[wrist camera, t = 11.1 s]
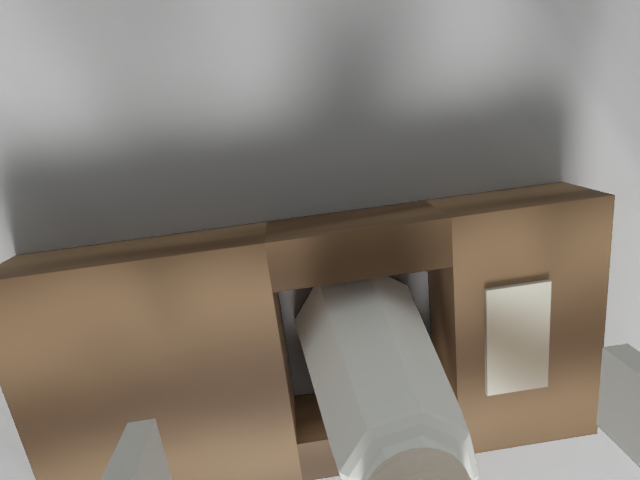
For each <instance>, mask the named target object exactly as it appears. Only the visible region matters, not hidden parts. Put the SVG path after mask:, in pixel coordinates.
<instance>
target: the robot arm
mask: <svg viewBox="0 0 640 480" xmlns="http://www.w3.org/2000/svg"><path fill="white" fill-rule="evenodd" d="M596 425H597V426H598V427H599V428H600V429H601V430H602V431H603V432H604V433H605V434H606V435H607V436H609V437H610V438H611V439H612V440H613V441H614V442H615V443H616V444H617V445H618V446H619V447H620V448H621V449H622V450H623V451H624V452H625V453H626V454H627V455H628V456H629V457H630V458H631V459H632V460H633V461H634V462H635V463H636V464H637V465H638V466H639V467H640V352H639V351H637V350H636V349H634V348H633V347H631V346H630V345H629V344H622V345H615V346H609V347H603V349H602V361H601V374H600V386H599V399H598V411H597V424H596ZM101 480H172V478H171V474H170V471H169V467H168V463H167V460H166V456H165V452H164V449H163V445H162V441H161V438H160V434H159V430H158V426H157V423H156V419H149V420H142V421H136V422H130V423H127V425H126V427H125V429H124V432H123V434H122V436H121V438H120V440H119V442H118V444H117V446H116V448H115V451H114V453H113V455H112V457H111V459H110V461H109V463H108V465H107V467H106V470H105V472H104V474H103V476H102V478H101Z"/></svg>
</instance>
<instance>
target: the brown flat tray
mask: <svg viewBox="0 0 640 480" xmlns="http://www.w3.org/2000/svg"><path fill="white" fill-rule="evenodd" d="M614 200H615V195H612V194H608V193H604V192H600V191H596V190H592V189H588V188H584V187H581V186H577V185H573V184H569V183H565V182H558V183H551V184H543V185H536V186H528V187H521V188H514V189H506V190H499V191H491V192H484V193H476V194H469V195H462V196H454V197H447V198H439V199H432V200H425V201H417V202H410V203H402V204H395V205H387V206H380V207H373V208H365V209H358V210H350V211H343V212H335V213H328V214H321V215H313V216H306V217H298V218H291V219H284V220H276V221H269V222H261V223H254V224H246V225H239V226H232V227H224V228H217V229H209V230H202V231H195V232H187V233H180V234H172V235H165V236H157V237H150V238H143V239H135V240H128V241H120V242H113V243H105V244H98V245H91V246H83V247H76V248H68V249H61V250H54V251H46V252H39V253H31V254H24V255H16V256H14V257H12V258H10V259H8V260H7V261H5V262H3V263H1V264H0V386H1V388H2V391H3V394H4V396H5V399H6V402H7V404H8V407H9V410H10V412H11V415H12V418H13V420H14V423H15V425H16V428H17V431H18V433H19V436H20V439H21V441H22V444H23V447H24V449H25V452H26V455H27V457H28V460H29V463H30V465H31V468H32V471H33V473H34V476H35V478H36V480H101V478H102V476H103V474H104V472H105V470H106V467H107V465H108V463H109V461H110V459H111V457H112V455H113V453H114V451H115V448H116V446H117V444H118V442H119V440H120V438H121V436H122V434H123V432H124V429H125V427H126V425H127V423H130V422H136V421H142V420H149V419H156V423H157V426H158V430H159V434H160V438H161V441H162V445H163V449H164V452H165V456H166V460H167V463H168V467H169V471H170V474H171V478H172V480H315V479H322V478H328V477H334V476H340V475H339V472H338V468H337V465H336V462H335V459H334V456H333V453H332V450H331V447H330V444H329V440H328V437H327V433H326V430H325V426H324V423H323V419H322V416H321V412H320V409H319V405H318V402H317V398H316V395H315V394H309V395H303V396H296V397H294V390H293V384H292V377H291V371H290V365H289V358H288V352H287V346H286V339H285V333H284V327H283V320H282V314H281V307H280V301H279V295H278V292H281V291H288V290H295V289H302V288H309V287H316V286H323V285H330V284H337V283H344V282H351V281H358V280H365V279H372V278H379V277H386V276H393V275H400V274H407V273H414V272H421V271H428V282H429V302H430V321H431V341H432V344H433V346H434V348H435V350H436V353H437V355H438V357H439V360H440V362H441V364H442V367H443V369H444V371H445V374H446V376H447V378H448V380H449V383H450V385H451V387H452V390H453V392H454V394H455V397H456V399H457V401H458V404H459V406H460V408H461V410H462V413H463V416H464V419H465V422H466V424H467V427H468V430H469V433H470V436H471V440H472V445H473V449H474V453H481V452H487V451H493V450H499V449H505V448H511V447H518V446H524V445H530V444H536V443H542V442H548V441H554V440H560V439H567V438H573V437H579V436H585V435H591V434H597V427H598V426H597V425H596V424H597V411H598V399H599V386H600V374H601V361H602V349H603V347H604V334H605V320H606V307H607V293H608V280H609V267H610V253H611V240H612V227H613V213H614Z"/></svg>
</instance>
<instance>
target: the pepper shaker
mask: <svg viewBox="0 0 640 480" xmlns="http://www.w3.org/2000/svg"><path fill="white" fill-rule="evenodd" d="M294 321H295V325H296V328H297V332H298V335H299V339H300V342H301V346H302V349H303V353H304V356H305V360H306V363H307V367H308V370H309V374H310V377H311V381H312V384H313V388H314V391H315V395H316V398H317V402H318V405H319V409H320V412H321V416H322V419H323V423H324V426H325V430H326V433H327V437H328V440H329V444H330V447H331V450H332V453H333V456H334V459H335V462H336V465H337V468H338V472H339V475H340V478H341V480H476V479H477V478H478V476H479V471H478V466H477V462H476V457H475V453H474V449H473V445H472V440H471V436H470V433H469V430H468V427H467V424H466V422H465V419H464V416H463V413H462V410H461V408H460V406H459V404H458V401H457V399H456V397H455V394H454V392H453V390H452V387H451V385H450V383H449V380H448V378H447V376H446V374H445V371H444V369H443V367H442V364H441V362H440V360H439V357H438V355H437V353H436V350H435V348H434V346H433V344H432V341H431V339H430V337H429V334H428V332H427V330H426V327H425V325H424V323H423V321H422V318H421V316H420V314H419V311H418V309H417V307H416V304H415V302H414V300H413V297H412V295H411V293H410V291H409V288H408V286H407V285H405V284H403V283H401V282H399V281H397V280H395V279H393V278H391V277H389V276H386V277H379V278H372V279H365V280H358V281H351V282H344V283H337V284H330V285H323V286H316V287H313V289H312V291H311V292H310V294H309V296H308V298H307V299H306V301H305V303H304V305H303V306H302V308H301V310H300V312H299V313H298V315H297V317H296V319H295V320H294Z"/></svg>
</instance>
